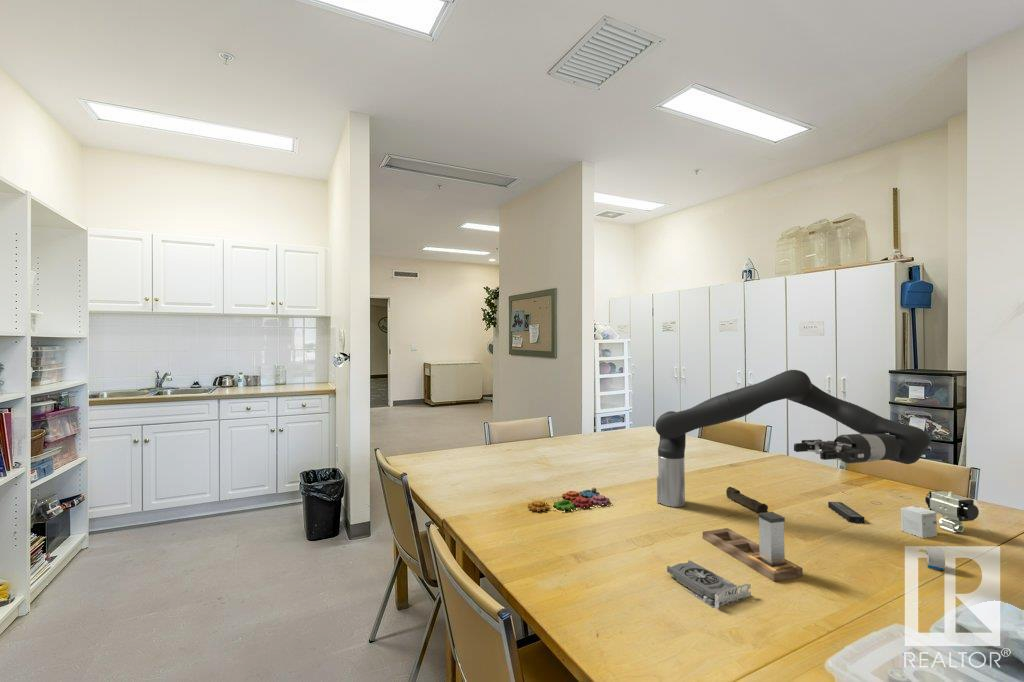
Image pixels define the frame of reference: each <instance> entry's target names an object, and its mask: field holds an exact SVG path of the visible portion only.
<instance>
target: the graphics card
mask: <svg viewBox="0 0 1024 682" xmlns="http://www.w3.org/2000/svg"><path fill="white" fill-rule="evenodd" d="M666 572H667V573H668V574H669V575H672V578H674V579H675V582H676V581H677V582H678V583H679V584H681V585H682V586H684V587H686V588H687V587H688V588H687V589H689V590H690V591H687V590H686V592H687V593H689V594H690V595H692V596H693V595H694V596H693V597H695V598H697V599H698V600H700V601H702V602H703V603H704V604H706V605H708V606H709V607H711V608H714V609H716V610H717V611H720V609H719V608H720V607H721V606H724V605H727V606H730V605H733V604H734V602H738V603H739V602H743V601H744V600H746V598H748V597H750V596H751V595H752V591H749V590H750V589H751V588H752V585H751V583H750V584H749V583H748V582H747V583H744V584H741V585H736V584H735V583H733V582H731V581H729V580H727V579H725V578H724V577H721V576H720V575H718V574H716V573H714V572H713V571H711V570H709V569H707V568H705V567H703V566H701V565H699V564H698V563H696V562H693V561H691V560H687V562H682V563H681V562H680V563H677V564H675V565H672V566H670V565H667V566H666ZM696 595H697V596H696Z"/></svg>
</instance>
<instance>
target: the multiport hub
mask: <svg viewBox="0 0 1024 682" xmlns="http://www.w3.org/2000/svg"><path fill="white" fill-rule="evenodd" d="M827 503H828V506H827V507H828V508H829V509H830V510H832V511H833V512H834V511H835V513H836V514H837V513H838V514H837V515H838V516H840V517H841V516H842V518H843V519H844V520H845V519H846V521H847V522H848V523H850V522H851V524H865V517H864V516H863V515H862V514H861V513H859V512H857V511H855V510H854V509H852V508H851V507H850V506H848V505H846V504H844V503H843V502H842V501H827Z"/></svg>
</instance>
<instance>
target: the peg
mask: <svg viewBox="0 0 1024 682" xmlns="http://www.w3.org/2000/svg"><path fill="white" fill-rule="evenodd" d="M757 515H758V525H759V526H758V529H759V530H758V535H759V539H758V540H759V544H758V545H759V549H760V561H762V562H764V563H765V564H767V565H769V566H771V567H776V566H782V565H785V559H786V558H785V555H786V553H785V520H786V517H785V516H782V515H780V514H779V513H776V512H774V511H767V512H765V513H757Z"/></svg>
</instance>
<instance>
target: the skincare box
mask: <svg viewBox="0 0 1024 682" xmlns="http://www.w3.org/2000/svg"><path fill="white" fill-rule="evenodd" d="M900 520H901V521H900V525H901V526H900V530H901V532H903V531H904V532H903V533H906V532H907V533H906V534H908V533H909V535H911V534H913V535H912V536H914V535H916V536H915V537H917V536H918V537H917V538H920V537H921V538H920V539H926V538H927V537H929V538H934V536H936V537H937V535H938V533H937V530H938V529H937V525H938V521H937V513H936V512H934V511H931V510H930V509H928V508H927V509H926V508H923V507H920V506H916V505H911V506H905V507H901V508H900ZM927 539H928V538H927Z"/></svg>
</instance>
